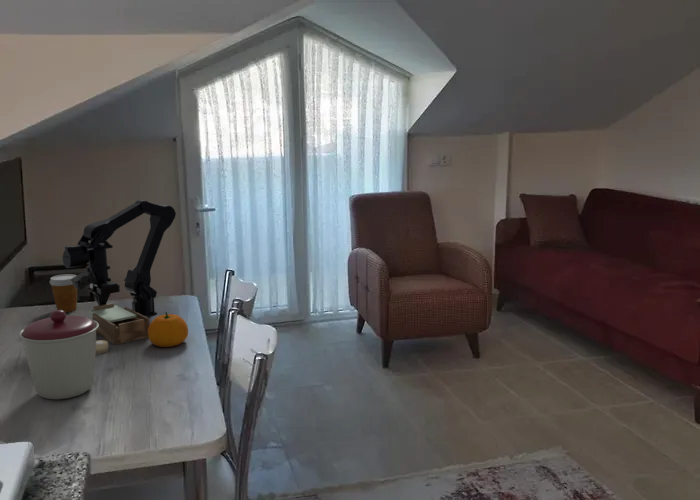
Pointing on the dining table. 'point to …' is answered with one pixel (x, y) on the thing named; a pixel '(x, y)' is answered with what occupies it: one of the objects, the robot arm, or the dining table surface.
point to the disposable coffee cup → (64, 292)
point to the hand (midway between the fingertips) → (101, 309)
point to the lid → (112, 312)
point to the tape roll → (101, 346)
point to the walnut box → (123, 328)
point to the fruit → (167, 330)
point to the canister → (61, 354)
